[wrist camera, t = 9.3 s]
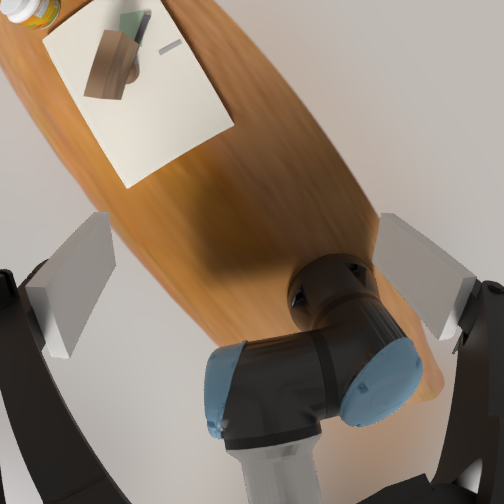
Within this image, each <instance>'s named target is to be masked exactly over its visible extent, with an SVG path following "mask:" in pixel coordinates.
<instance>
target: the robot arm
mask: <svg viewBox="0 0 504 504" xmlns="http://www.w3.org/2000/svg"><path fill="white" fill-rule="evenodd" d="M372 263H373V264H374V265H375V266H376V268H377V269H378V270H379V271H380V272H381V273H382V274H383V275H384V276H385V278H386V279H387V280H388V281H389V282H390V283H391V284H392V286H393V287H394V288H395V289H396V290H397V291H398V292H399V294H400V295H401V296H402V297H403V298H404V299H405V301H406V302H407V303H408V304H409V305H410V307H411V308H412V309H413V310H414V311H415V313H416V314H417V315H418V316H419V317H420V319H421V320H422V321H423V322H424V323H425V325H426V326H427V327H428V328H429V330H430V331H431V332H432V333H433V335H434V336H435V337H436V338H437V340H438V341H440V340H445V339H449V338H452V337H453V335H454V332H455V330H456V328H457V326H458V325H459V326H460V327H461V329H462V330H463V331H462V333H461V336H460V337H459V339H458V342H457V344H456V346H455V348H454V350H453V352H452V354H455V352H456V351H457V350H458V359H457V368H456V377H455V384H454V392H453V398H452V404H451V411H450V416H449V422H448V426H447V431H446V436H445V440H444V445H443V449H442V453H441V457H440V461H439V464H438V468H437V471H436V474H435V476H434V478H433V480H432V481H431V483H429V481H428V479H427V477H426V475H425V473H424V474H421V475H419V476H416V477H413V478H411V479H408V480H405V481H403V482H399V483H397V484H394V485H391V486H387V487H385V488H383V489H382V490H380V491H378V492H377V493H375V494H373V495H372V496H370V497H368V498H366V499H364V500H362V501H361V502H359V503H357V504H504V287H503V286H502V285H501V284H499V283H497V282H493V281H483V282H482V283H481V282H480V281H479V280H478V279H477V276H475V275H474V274H473V273H472V272H471V271H469V270H468V269H467V268H466V267H464V266H463V265H462V264H461V263H459V262H458V261H457V260H456V259H454V258H453V257H452V256H451V255H449V254H448V253H447V252H445V251H444V250H443V249H442V248H440V247H439V246H438V245H436V244H435V243H434V242H432V241H431V240H430V239H428V238H427V237H426V236H424V235H423V234H421V233H420V232H419V231H417V230H416V229H414V228H413V227H412V226H411V225H409V224H408V223H406V222H405V221H403V220H402V219H401V218H399V217H398V216H396V215H395V214H390V213H381V218H380V223H379V229H378V234H377V239H376V244H375V249H374V254H373V258H372ZM115 266H116V262H115V256H114V249H113V242H112V234H111V226H110V218H109V212H94V213H93V214H92V215H91V216H90V217H89V218H88V219H87V220H86V221H85V222H84V223H83V224H82V225H81V226H80V227H79V228H78V229H77V230H76V231H75V232H74V233H73V234H72V235H71V236H70V237H69V238H68V239H67V240H66V241H65V242H64V243H63V245H61V247H60V248H59V249H58V250H57V251H56V252H55V253H54V254H53V255H52V256H51V257H50V258H49V259H47V260H45V261H43V262H42V263H40V264H39V265H37V267H36V268H35V269H34V270H33V271H32V273H30V274H29V275H28V277H27V279H25V280H24V281H23V282H22V283H21V285H20V286H19V287H18V288H17V287H16V283H15V280H14V277H13V273H12V272H11V271H10V270H7V269H0V390H1V393H2V397H3V401H4V404H5V408H6V411H7V414H8V418H9V420H10V424H11V426H12V430H13V433H14V435H15V438H16V441H17V444H18V446H19V449H20V452H21V454H22V457H23V459H24V461H25V464H26V466H27V469H28V471H29V473H30V475H31V478H32V480H33V482H34V484H35V486H36V488H37V490H38V492H39V494H40V496H41V499H42V500H43V504H132V503H131V502H130V501H129V500H128V499H127V497H126V496H125V495H124V493H123V492H122V491H121V490H120V488H119V487H118V486H117V484H116V483H115V482H114V480H113V479H112V477H111V476H110V475H109V473H108V472H107V470H106V469H105V468H104V466H103V465H102V463H101V462H100V460H99V459H98V457H97V456H96V454H95V453H94V451H93V450H92V448H91V446H90V445H89V443H88V442H87V440H86V438H85V437H84V435H83V433H82V432H81V430H80V428H79V427H78V425H77V423H76V421H75V420H74V418H73V416H72V414H71V412H70V411H69V409H68V407H67V405H66V403H65V401H64V399H63V397H62V395H61V393H60V391H59V389H58V387H57V385H56V383H55V381H54V379H53V377H52V375H51V373H50V370H49V368H48V366H47V364H46V361H45V359H44V357H43V355H42V352H41V351H42V349H43V347H44V345H45V343H46V346H47V348H48V351H49V353H50V355H51V357H58V358H66V359H70V357H71V355H72V352H73V350H74V348H75V346H76V343H77V342H78V339H79V337H80V335H81V333H82V331H83V329H84V327H85V325H86V322H87V320H88V318H89V316H90V314H91V312H92V310H93V308H94V306H95V304H96V302H97V300H98V298H99V296H100V294H101V293H102V291H103V289H104V287H105V285H106V283H107V281H108V279H109V277H110V276H111V274H112V272H113V270H114V268H115ZM288 308H289V311H290V314H291V317H292V319H293V321H294V323H295V324H296V326H297V327H298V328H299V329H300V330H301V331H302V332H299V333H294V334H289V335H284V336H278V337H273V338H267V339H262V340H256V341H250V342H248V340H247V341H243V342H242V343H239V344H234V345H229V346H224V347H220V348H218V349H216V350H215V351H214V352H213V353H212V354H211V356H210V357H209V359H208V363H207V366H206V372H205V382H204V405H205V416H206V419H207V426H208V431H209V433H210V434H211V436H212V437H215V438H218V439H222V438H224V441H225V447H226V452H228V453H229V454H230V455H232V456H233V457H235V458H236V459H238V460H239V461H240V462H241V464H242V470H243V475H244V480H245V486H246V490H247V495H248V501H249V504H323V503H322V497H321V492H320V487H319V482H318V476H317V471H316V466H315V461H314V456H313V448H314V446H315V445H316V443H317V442H318V440H319V439H320V437H321V436H322V430H321V425H320V420H323V419H327V418H331V417H335V416H339V415H340V417H341V420H343V421H344V422H345V423H346V424H347V425H349V426H353V427H354V426H357V427H363V426H368V425H371V424H374V423H376V422H379V421H380V420H382V419H384V418H386V417H388V416H389V415H391V414H392V413H394V412H395V411H396V410H398V409H399V408H400V407H401V406H402V405H403V404H404V403H405V402H406V401H407V400H408V399H409V398H410V397H411V396H412V394H413V393H414V392H415V390H416V389H417V387H418V385H419V383H420V381H421V378H422V374H423V363H422V360H421V358H420V356H419V354H418V352H417V351H416V349H415V347H414V344H413V342H412V341H411V340H410V339H409V338H408V337H407V336H406V334H405V333H404V332H403V330H402V329H401V328H400V326H399V325H398V323H397V322H396V321H395V319H394V318H393V317H392V315H391V314H390V313H389V312H388V310H387V309H386V308H385V306H384V305H383V304H382V302H381V301H380V296H379V291H378V287H377V282H376V279H375V277H374V275H373V273H372V272H371V270H370V269H369V268H368V267H367V266H366V264H365V263H364V262H362V261H361V260H360V259H358V258H356V257H354V256H351V255H347V254H333V255H328V256H324V257H322V258H319V259H317V260H315V261H313V262H312V263H310V264H309V265H307V266H306V267H305V268H304V269H303V270H302V271H301V272H300V273H299V274H298V275H297V276H296V278H295V279H294V281H293V283H292V285H291V287H290V290H289V293H288ZM0 504H6V501H5V496H4V490H3V484H2V476H1V468H0Z"/></svg>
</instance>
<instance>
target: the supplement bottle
mask: <svg viewBox="0 0 504 504" xmlns="http://www.w3.org/2000/svg"><path fill="white" fill-rule="evenodd" d="M0 10H1V12H2V13H3V14H6V15H7V17H8V19H9V20H10V21H11V22H13V23H16V24H20V25H23V26H26V27H29V28H32V29H35V30H42V29H45V28H47V27H48V26H50V25H51V24H52V23H53V22H54V21H55V20H56V18H57V16H58V14H59V11H60V4H59V2H58V0H2V1H1V4H0Z"/></svg>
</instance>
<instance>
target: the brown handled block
mask: <svg viewBox="0 0 504 504" xmlns="http://www.w3.org/2000/svg"><path fill="white" fill-rule="evenodd" d="M150 18H151V15H147V14H144V16H143V18H142V21H141V23H140V26H139V29H138V31H137V34H136V36H135V39H134V40H133V39H131V38H130V37H129V36H127V35H126V34H125V33H124V32H121V31H113V30H104V32H103V35H102V37H101V40H100V43H99V46H98V49H97V52H96V55H95V58H94V61H93V64H92V67H91V70H90V74H89V77H88V81H87V84H86V88H85V91H84V95H83V96H86V97H92V98H98V99H112V100H121V99H122V95H123V92H124V89H125V85H126V84H131V83H133V82H134V81H135V80H136V79H137V78H138V76H139V67H138V65H137V64H136V63H134V61H135V58H136V55H137V52H138V49H139V47H140V44H141V41H142V38H143V36H144V33H145V30H146V28H147V25H148V23H149V20H150Z"/></svg>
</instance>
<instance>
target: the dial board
mask: <svg viewBox="0 0 504 504" xmlns="http://www.w3.org/2000/svg"><path fill="white" fill-rule="evenodd" d="M144 14H147V15H151V18H150V20H149V23H148V25H147V28H146V30H145V33H144V36H143V38H142V41H141V44H140V47H139V49H138V52H137V55H136V58H135V61H134V63H136V64H137V65H138V67H139V76H138V78H137V79H136V80H135V81H134V82H133V83H131V84H126V85H125V89H124V92H123V95H122V99H121V100H112V99H98V98H92V97H86V96H83V95H84V91H85V88H86V84H87V81H88V77H89V74H90V70H91V67H92V64H93V61H94V58H95V55H96V52H97V49H98V46H99V43H100V40H101V37H102V35H103V32H104V30H113V31H121V32H124V33H125V34H126V35H127V36H129V37H130V38H131V39H133V40H134V39H135V36H136V34H137V31H138V29H139V26H140V23H141V21H142V18H143V16H144ZM42 41H43V43H44V45H45V47H46V49H47V51H48V53H49V55H50V57H51V59H52V61H53V63H54V65H55V67H56V69H57V70H58V72H59V74H60V76H61V78H62V80H63V82H64V83H65V85H66V87H67V89H68V91H69V93H70V94H71V96H72V98H73V100H74V102H75V103H76V105H77V107H78V109H79V110H80V112H81V114H82V116H83V117H84V119H85V121H86V123H87V124H88V126H89V128H90V129H91V131H92V133H93V134H94V136H95V138H96V139H97V141H98V143H99V144H100V146H101V148H102V149H103V151H104V153H105V154H106V156H107V158H108V159H109V161H110V162H111V164H112V166H113V167H114V169H115V170H116V172H117V174H118V175H119V177H120V178H121V180H122V182H123V183H124V185H125V186H126V188H127V189H128V188H130V187H131V186H133V185H134V184H136V183H137V182H139V181H140V180H142V179H143V178H145V177H146V176H148V175H150V174H151V173H153V172H154V171H156V170H157V169H159V168H161V167H162V166H164V165H165V164H167V163H169V162H170V161H172V160H174V159H175V158H177V157H179V156H180V155H182V154H184V153H185V152H187V151H189V150H191V149H192V148H194V147H196V146H197V145H199V144H201V143H203V142H205V141H206V140H208V139H210V138H212V137H213V136H215V135H217V134H219V133H221V132H223V131H225V130H226V129H228V128H230V127H232V126H234V124H233V122H232V120H231V118H230V116H229V115H228V113H227V111H226V109H225V108H224V106H223V104H222V102H221V100H220V99H219V97H218V95H217V94H216V92H215V90H214V88H213V87H212V85H211V83H210V81H209V80H208V78H207V76H206V75H205V73H204V71H203V69H202V68H201V66H200V64H199V63H198V61H197V59H196V58H195V56H194V54H193V53H192V51H191V49H190V48H189V46H188V44H187V43H186V41H185V39H184V38H183V36H182V34H181V33H180V31H179V30H178V28H177V26H176V25H175V23H174V22H173V20H172V18H171V17H170V15H169V14H168V12H167V10H166V9H165V7H164V6H163V4H162V2H161V1H160V0H94V1H92V2H91V3H89V4H88V5H86V6H85V7H84V8H82V9H81V10H79V11H78V12H77V13H75V14H74V15H73V16H71V17H70V18H69V19H67V20H66V21H65V22H64V23H62V24H61V25H60V26H59V27H57V28H56V29H55V30H54V31H53V32H51V33H50V34H49V35H48V36H47V37H45V38H44V39H43V40H42Z"/></svg>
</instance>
